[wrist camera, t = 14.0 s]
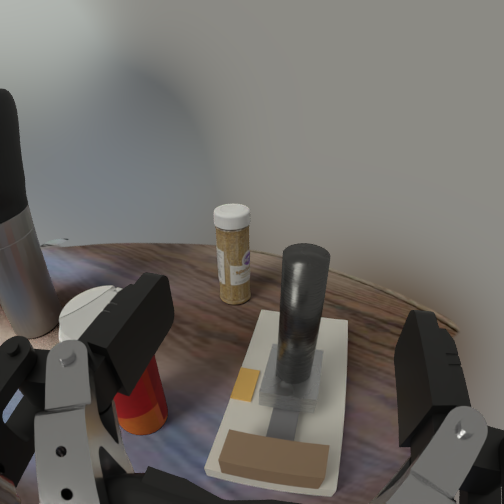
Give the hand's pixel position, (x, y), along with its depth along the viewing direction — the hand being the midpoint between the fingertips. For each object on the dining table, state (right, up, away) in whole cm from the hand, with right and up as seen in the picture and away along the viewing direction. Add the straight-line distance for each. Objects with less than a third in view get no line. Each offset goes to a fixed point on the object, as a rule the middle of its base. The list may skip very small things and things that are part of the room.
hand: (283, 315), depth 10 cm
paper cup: (-12, -15, +18) cm, 26 cm away
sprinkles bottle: (-3, -5, +36) cm, 36 cm away
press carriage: (+3, -10, +18) cm, 21 cm away
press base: (+3, -13, +21) cm, 25 cm away
